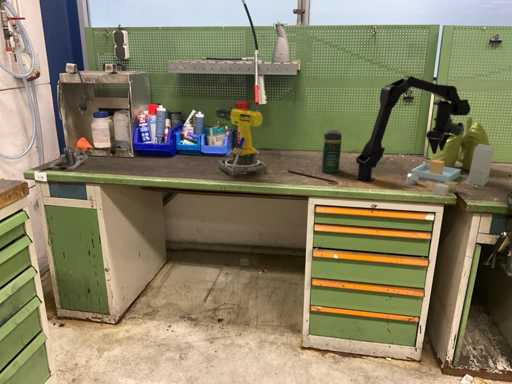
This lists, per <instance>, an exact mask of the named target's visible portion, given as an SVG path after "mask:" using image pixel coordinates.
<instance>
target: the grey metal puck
mask: <svg viewBox="0 0 512 384" xmlns="http://www.w3.org/2000/svg"><path fill="white" fill-rule="evenodd" d="M419 179H420V178H419V174H416V173H411V172H409V173H407V176H406V184H407V185H410V186H418V183H419Z"/></svg>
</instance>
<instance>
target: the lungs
mask: <svg viewBox="0 0 512 384" xmlns="http://www.w3.org/2000/svg"><path fill="white" fill-rule="evenodd" d="M463 127H464V128H465V129H464V130H463V131H462V133H461V134H460V135H459V136H456V135H454V134H452V136H451V137H449V138H448V140H447V142H446V144H445V146H444V149H443V150H442V151H441V150H440V148H439V145H438V148H437V151H436V154H433V152H432V151H431V152H432V153H431V156H430V159H429V163H430V162H431V161H432V160H440V161H445V162H444V167H449V168H455V167H456V166H455V165H456V163H457V162H458V163H460V164H462V168H463V169H465V170H467V171H470V169H471V164H472V158H473V153H474V148H475V147H476V146H478V145H479V144H481V145H489V146H491V145H490V141H489V137H488V134H487V132H486V129H484V127H483V126H482V125H481V123H480V122H475V123H473V118H472V116H471V117H470V116H466V119H465V124H464V123H463ZM450 134H451V133H450Z"/></svg>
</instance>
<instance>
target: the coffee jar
mask: <svg viewBox="0 0 512 384" xmlns="http://www.w3.org/2000/svg"><path fill="white" fill-rule="evenodd" d="M342 135H343V134H342V132H340V131H339V130H337V129H329V130H327V131H325V132H324V133H323V143H322V144H323V145H322V156H321V157H322V158H321V159H322V160H321V172H322V173H323V172H324V173H328V174H336V173H338V172H339V171H340V161H341V151H342V150H341V149H342Z"/></svg>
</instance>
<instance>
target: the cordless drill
mask: <svg viewBox="0 0 512 384" xmlns="http://www.w3.org/2000/svg"><path fill="white" fill-rule="evenodd" d="M213 113H214V115H215V116H216V117H217V118H219V119H223V120H224V119H225V121H228V122H231V124H232V125H233V126H235V128H234V130H235V131H236V132H238V133H239V135H240V140H239V143H238V145H237V146H235V147H234V149H233V151H232V158H229V159H221V160H219V161H218V165H219V169H220V170H224V172H225V173H226V174H227V175H231V174H232V175H233V177H235V176H239V175H242V174H245V173H246V174H248V173H249V172H250V173H251V172H253V171H254V172H256V171H257V172H258V171H259V172H260V171H262V172H263V171H264V172H265V171H267V167H268V166H267V165H266V164H265V163H264V162H262V161H260V160H258V159H257V154H259V153H260V152H259V151H258V150H257V149H256V148H255V147H253V137H252V132H251V126H252V127H260V126H261V125H262V123H263V117H264V116H263V114H262V113H261V112H260V111H259V110H257V111H254V110H250V109H245V108H242V109H241V108H237V107H235V108H232V107H230V106H229V107H226V108H223V107H218V108H215V110H213Z"/></svg>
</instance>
